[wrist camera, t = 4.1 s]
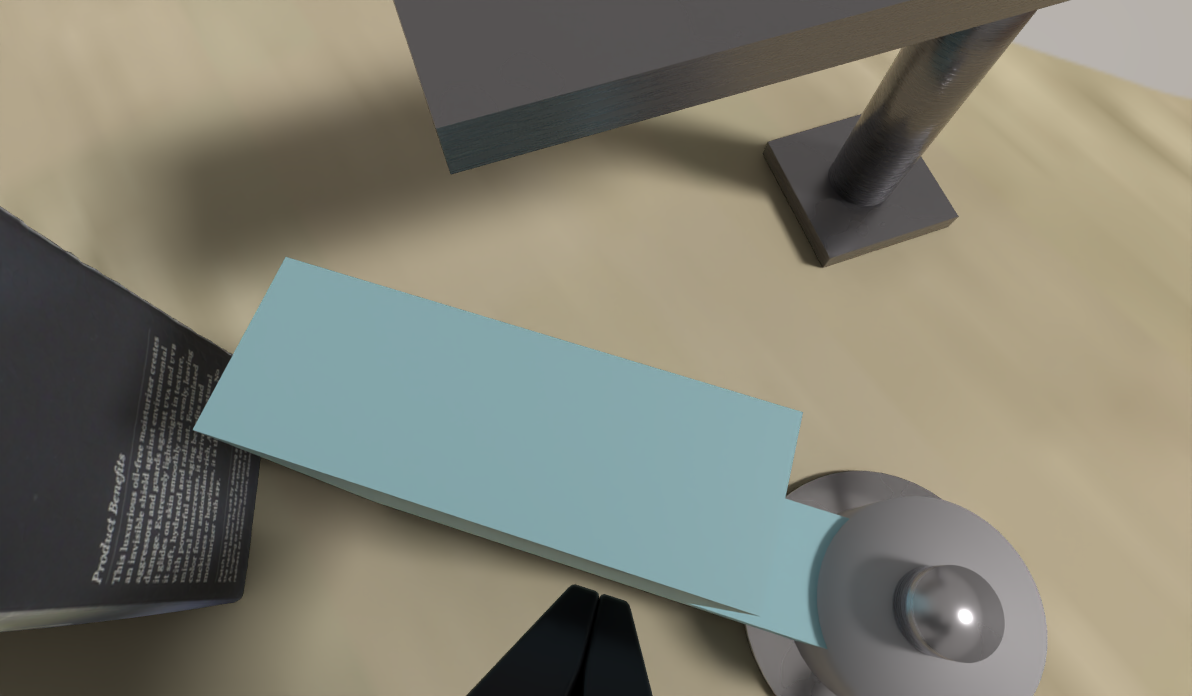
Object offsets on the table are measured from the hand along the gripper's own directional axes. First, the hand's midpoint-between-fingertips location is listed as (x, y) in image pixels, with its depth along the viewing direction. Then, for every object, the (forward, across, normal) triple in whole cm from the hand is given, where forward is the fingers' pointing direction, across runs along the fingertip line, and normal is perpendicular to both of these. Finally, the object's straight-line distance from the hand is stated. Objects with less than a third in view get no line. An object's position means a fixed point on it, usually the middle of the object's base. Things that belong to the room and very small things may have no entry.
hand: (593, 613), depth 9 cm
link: (+7, -2, +4) cm, 8 cm away
